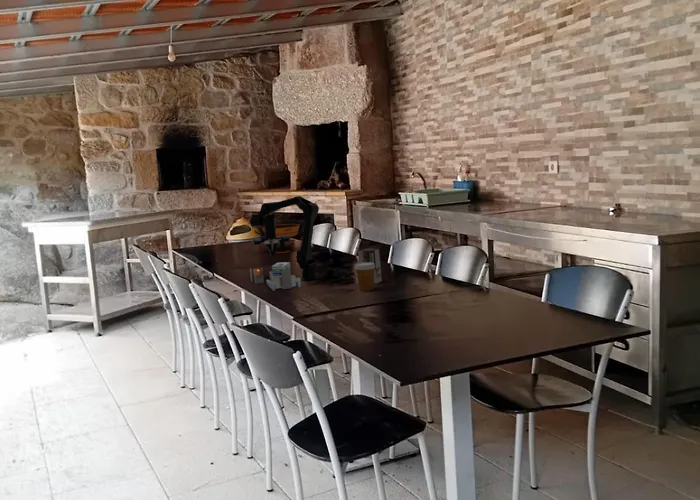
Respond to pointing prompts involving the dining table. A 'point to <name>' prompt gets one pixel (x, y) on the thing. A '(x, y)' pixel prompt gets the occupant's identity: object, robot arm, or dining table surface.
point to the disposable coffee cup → (365, 275)
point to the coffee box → (373, 257)
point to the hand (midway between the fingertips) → (272, 256)
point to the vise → (261, 280)
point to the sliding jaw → (285, 280)
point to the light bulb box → (280, 268)
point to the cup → (287, 230)
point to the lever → (258, 272)
